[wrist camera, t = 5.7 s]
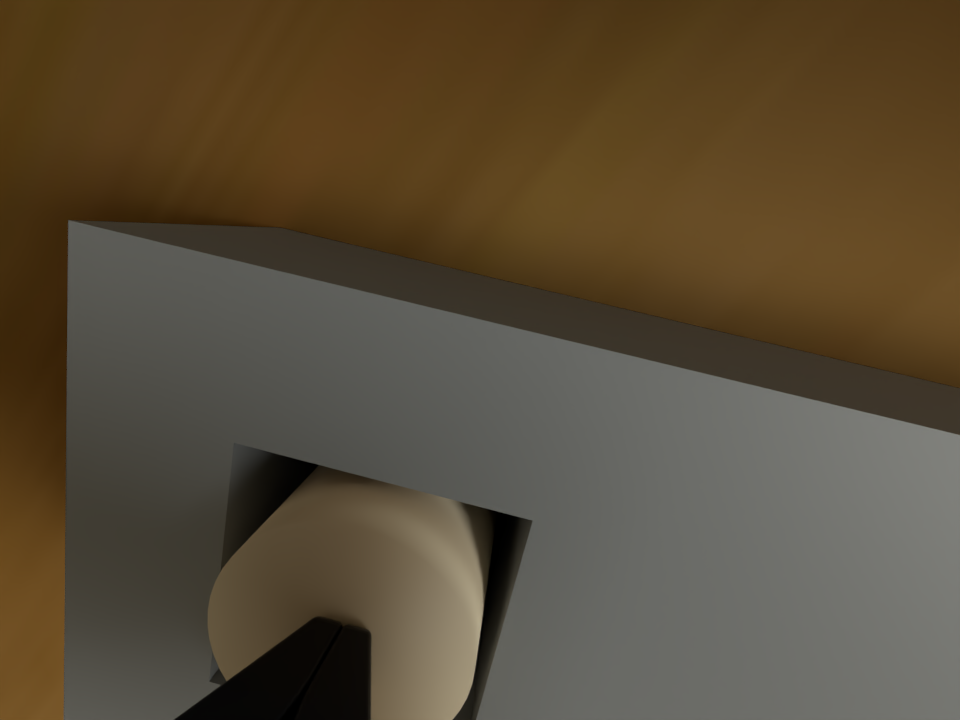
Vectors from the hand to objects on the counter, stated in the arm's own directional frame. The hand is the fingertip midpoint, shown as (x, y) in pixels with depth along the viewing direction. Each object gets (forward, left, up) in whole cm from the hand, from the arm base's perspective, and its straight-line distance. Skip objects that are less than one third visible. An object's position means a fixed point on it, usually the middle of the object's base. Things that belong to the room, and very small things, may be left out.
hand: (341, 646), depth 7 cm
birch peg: (0, 0, -6) cm, 6 cm away
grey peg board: (-6, 0, -7) cm, 9 cm away
